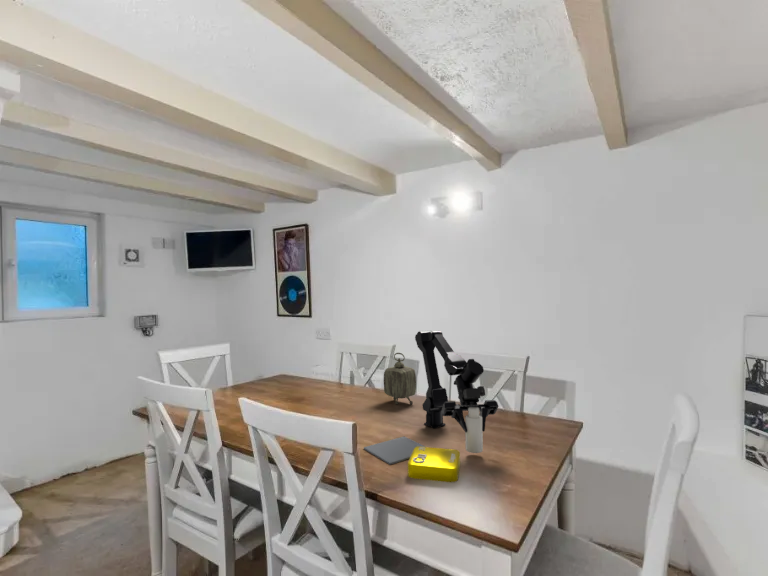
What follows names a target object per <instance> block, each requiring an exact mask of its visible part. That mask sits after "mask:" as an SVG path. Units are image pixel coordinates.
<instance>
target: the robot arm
mask: <svg viewBox="0 0 768 576" xmlns="http://www.w3.org/2000/svg"><path fill="white" fill-rule="evenodd" d="M414 336H415V337H414V340H415V342H416V345H417V348H418V349H419V350H420V352H421V353H422V358H423V363H424V364H423V365H424V369H425V374H426V375H425V376H426V381H427V387H428V388H427V391H426V393H425V398H426V399H425V400H424V402H423V403H422V410H423V411H424V412H426V414H425V422H424V423H423V424H424V425H425V426H428V427H430V428H433V429H437V428H440V427H444V426H447V425H446V423H444V417H451V418H452V419H454V420H455V421H456V422H457V423H458V424H459V426H460V427H461V428H462V429H463V431H464V432H467V427H466V423H465V416H464V413H463V412H465V411H468V407H478V408H479V415H480V416H482V433H484V432H485V431H486V419H487V417H488V416H491V415H492V416H493V415H495V414H496V412H497V410H498V409H499V403H498V401H497V400H495V399H491V400H490V399H487V400H486V399H485V400H484V403H483V404H482V403H481V404H480V403H479V402H480V399H481V397H484V396H486V390H485V387H484V386H483V385H482V386H481V385H478V387H477V388H476V387H475V388H474V383H476V382H477V381H478V380H479V378H480V377H481V376H482V375H483V374H484V366H483V365H482V364H481V363H480V362H478V361H476V360H475V359H474V358H469V359H467V361H466V360H465V358H463V357H462V356H461V355H459V354H458V353H456V352H455V351H454V350H453V349H452V346H450V344H449V343H448V340H446V338H445V337H444V335H443V332H442V331H440V330H419V331H417V333H416V334H415V335H414ZM435 348H436V350H437V351H438V353H439V355H440V356H441V357H442V359H443V360H444V364H443V366H444V369H445V371H446V373H447V374H448V376H456V377H455V378H454V379H455V380H454V381H453V385H455V386H456V390H457V394H458V397H457V398H458V400H459V403H460V404H459V403H458V404H457V403H456V401H455V400H454V401H450V400H449V397H448V393H447V389H446V388H445V387H444V388H443V386H442V385H441V383H440V376H439V370H438V366H437V361H436V355H435ZM478 403H479V404H478Z"/></svg>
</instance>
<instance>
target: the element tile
mask: <svg viewBox="0 0 768 576" xmlns="http://www.w3.org/2000/svg"><path fill="white" fill-rule="evenodd" d="M460 467H461V452H460V451H459V450H458V449H454V448H441V447H429V446H428V447H427V446H425V447H415V448H414V450H413V452H412V454H411V456H410V459H408V461H407V477H408V478H411V479H415V480H426V481H435V482H442V483H443V482H445V483H456V482H457V481H458V480H459V475H460Z"/></svg>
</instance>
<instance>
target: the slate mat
mask: <svg viewBox="0 0 768 576" xmlns="http://www.w3.org/2000/svg"><path fill="white" fill-rule="evenodd" d="M415 447H426V446H425V445H423V444H421V443H420V442H417V441H415V440H413V439H410V438H409V437H406V436H401V437H396V438H392V439H389V440H385V441H382V442H379V443H378V442H377V443H375V444H370V445H367V446H364V447H363V450H365V451H366V452H368V453H369V454H371V455H373V456H375V457H376V458H377V459H379V460H381V461H383V462H384V463H387V464H388V465H389V466H390V465H393V464H394V465H395V464H397V463H400V462H404V461H406V460H409V459H410V456H411V454H412V452H413V450H414V448H415Z"/></svg>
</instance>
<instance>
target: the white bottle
mask: <svg viewBox="0 0 768 576" xmlns="http://www.w3.org/2000/svg"><path fill="white" fill-rule="evenodd" d="M464 420H465V423H466V427H467V432H465V431H464V432H465V433H464V434H465V451H467V452H468V453H472V454H479V453H482V452H483V444H484V442H483V437H484V436H483V431H482V416H480V411H479V408H478V407H468V413H467V414H466V415H465V416H464Z"/></svg>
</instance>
